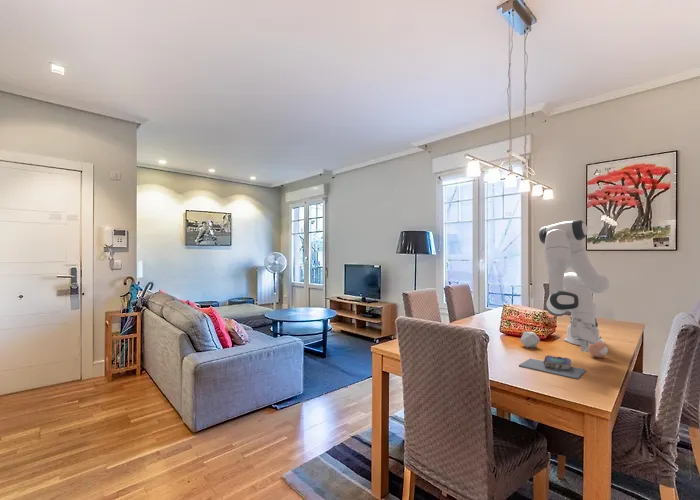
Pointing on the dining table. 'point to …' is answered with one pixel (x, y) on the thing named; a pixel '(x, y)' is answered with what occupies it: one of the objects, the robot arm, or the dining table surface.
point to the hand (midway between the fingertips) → (584, 351)
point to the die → (530, 339)
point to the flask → (557, 362)
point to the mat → (552, 369)
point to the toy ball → (598, 349)
